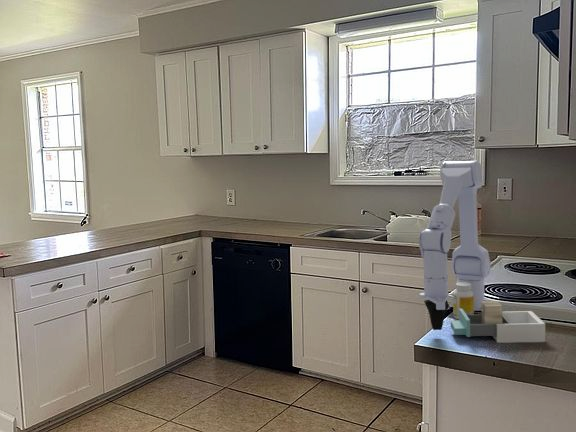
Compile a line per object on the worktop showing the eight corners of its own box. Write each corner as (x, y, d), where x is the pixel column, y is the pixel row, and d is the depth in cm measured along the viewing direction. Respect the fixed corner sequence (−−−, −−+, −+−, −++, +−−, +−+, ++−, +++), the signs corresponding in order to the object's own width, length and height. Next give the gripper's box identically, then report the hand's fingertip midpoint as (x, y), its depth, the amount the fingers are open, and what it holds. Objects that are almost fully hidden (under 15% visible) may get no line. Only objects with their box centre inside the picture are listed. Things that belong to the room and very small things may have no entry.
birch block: (481, 324, 137) (481, 301, 136) (498, 324, 137) (498, 301, 136) (485, 329, 133) (485, 306, 132) (502, 329, 133) (502, 305, 132)
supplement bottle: (449, 317, 150) (448, 284, 149) (460, 313, 154) (460, 280, 152) (466, 321, 146) (466, 287, 145) (477, 317, 150) (477, 283, 148)
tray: (449, 324, 141) (449, 309, 140) (501, 323, 139) (501, 307, 139) (456, 337, 132) (456, 320, 131) (511, 336, 130) (511, 319, 130)
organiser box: (487, 328, 140) (486, 311, 140) (531, 327, 139) (531, 311, 138) (497, 342, 130) (497, 324, 130) (545, 342, 129) (545, 323, 128)
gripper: (415, 270, 142) (417, 319, 144) (423, 284, 128) (424, 339, 130) (443, 269, 142) (444, 319, 143) (453, 283, 127) (454, 339, 129)
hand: (436, 328), depth 137 cm, fingers closed
